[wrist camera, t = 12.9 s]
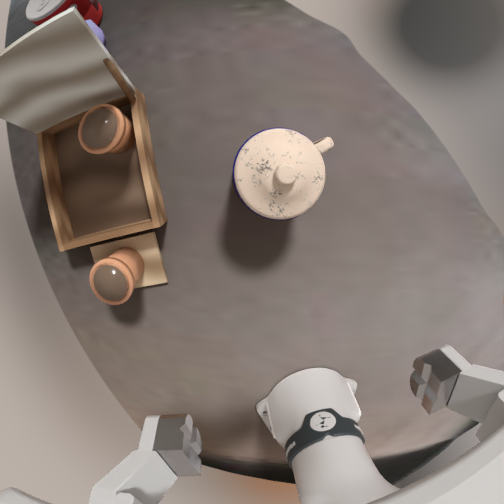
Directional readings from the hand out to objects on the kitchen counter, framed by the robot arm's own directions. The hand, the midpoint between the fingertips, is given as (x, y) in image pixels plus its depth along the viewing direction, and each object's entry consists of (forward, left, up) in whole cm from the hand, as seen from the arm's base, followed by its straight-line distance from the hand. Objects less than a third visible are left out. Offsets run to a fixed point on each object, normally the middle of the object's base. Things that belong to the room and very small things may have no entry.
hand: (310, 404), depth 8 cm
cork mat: (-2, +17, -29) cm, 34 cm away
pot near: (+15, +14, -28) cm, 35 cm away
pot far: (-2, +17, -28) cm, 33 cm away
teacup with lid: (+7, -5, -29) cm, 31 cm away
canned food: (+37, +19, -29) cm, 51 cm away
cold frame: (+13, +18, -29) cm, 36 cm away
